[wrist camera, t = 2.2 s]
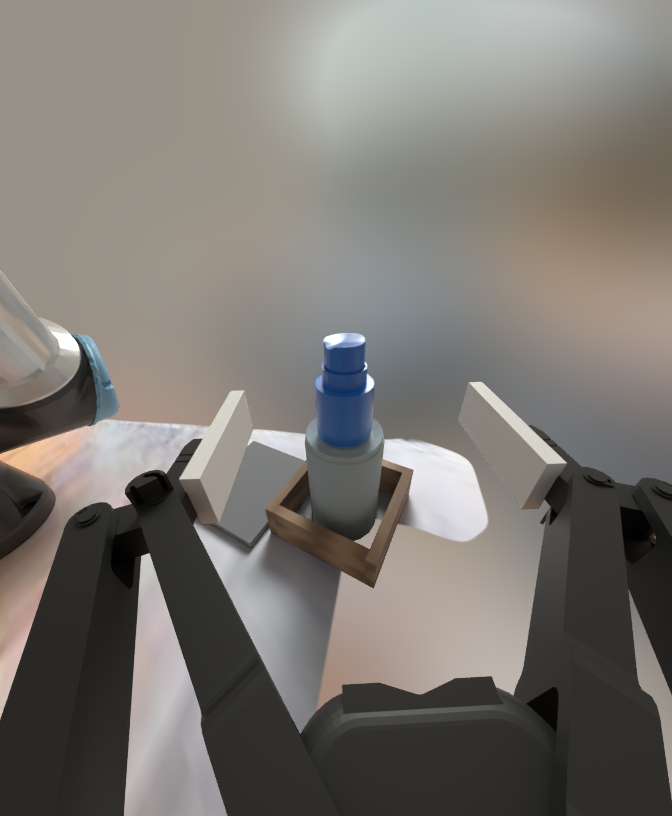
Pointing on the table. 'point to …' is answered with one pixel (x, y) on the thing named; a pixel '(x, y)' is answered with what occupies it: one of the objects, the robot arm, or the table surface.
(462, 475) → the table surface
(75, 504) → the table surface
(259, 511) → the rubber mat
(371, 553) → the walnut collar
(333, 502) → the spray bottle
